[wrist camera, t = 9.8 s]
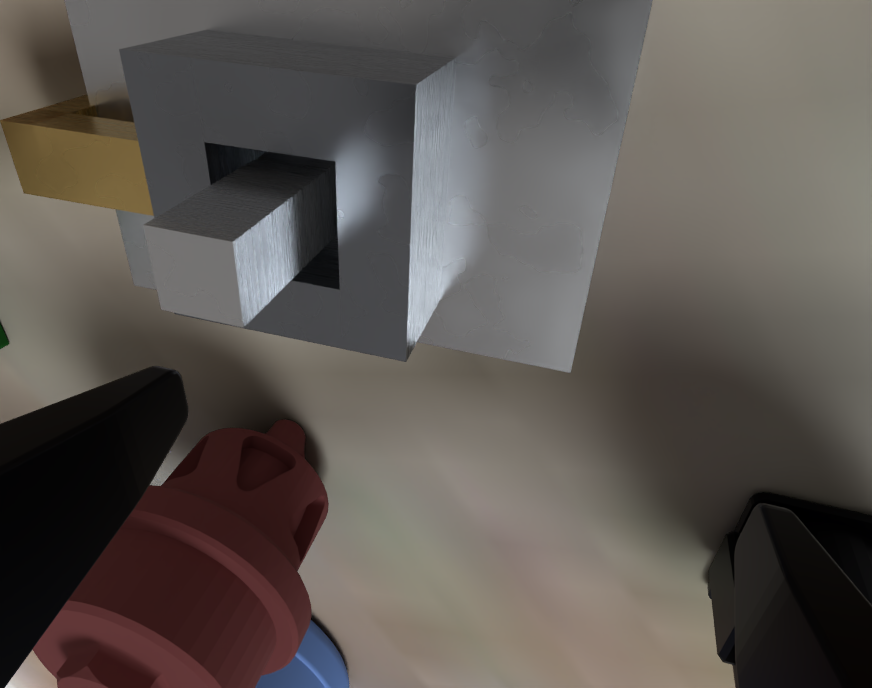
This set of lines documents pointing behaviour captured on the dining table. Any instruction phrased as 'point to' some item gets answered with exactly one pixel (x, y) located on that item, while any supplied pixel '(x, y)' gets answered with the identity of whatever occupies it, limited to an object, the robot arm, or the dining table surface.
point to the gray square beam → (243, 237)
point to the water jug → (310, 665)
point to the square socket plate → (367, 151)
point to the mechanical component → (199, 573)
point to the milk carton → (3, 338)
